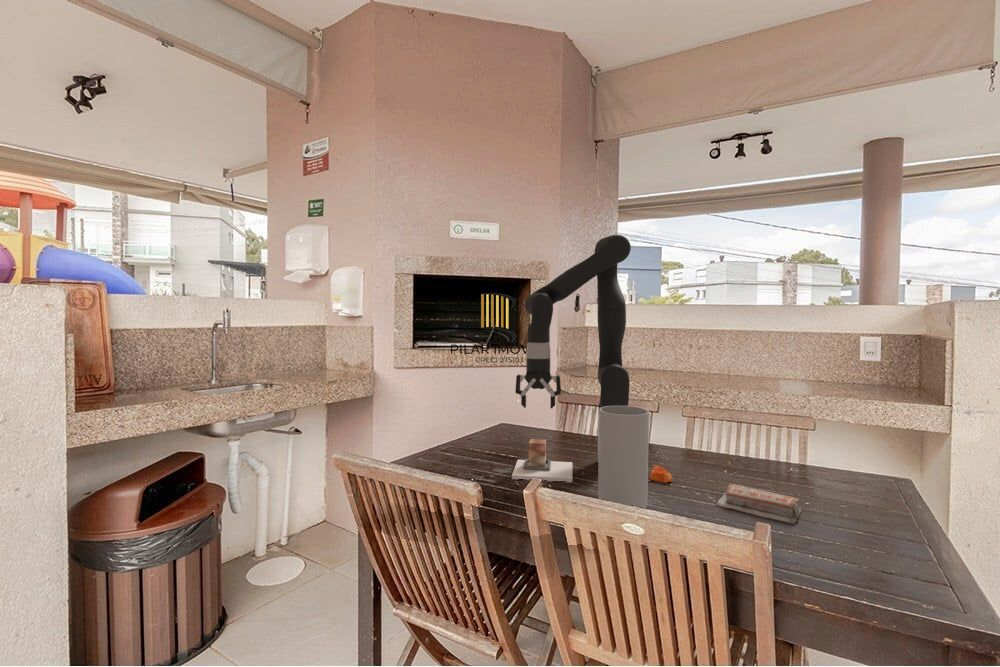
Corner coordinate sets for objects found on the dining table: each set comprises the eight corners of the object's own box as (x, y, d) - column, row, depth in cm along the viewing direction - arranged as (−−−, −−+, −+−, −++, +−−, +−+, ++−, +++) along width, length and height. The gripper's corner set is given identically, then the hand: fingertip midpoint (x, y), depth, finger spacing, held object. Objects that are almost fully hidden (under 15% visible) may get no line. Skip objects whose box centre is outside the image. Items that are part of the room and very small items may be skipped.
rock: (674, 492, 141) (675, 478, 141) (633, 483, 148) (633, 469, 148) (687, 481, 150) (688, 467, 150) (648, 472, 158) (648, 459, 157)
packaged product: (802, 494, 126) (795, 506, 118) (801, 513, 126) (795, 526, 118) (726, 479, 137) (716, 489, 130) (726, 496, 137) (715, 507, 130)
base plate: (572, 465, 162) (572, 459, 162) (572, 482, 146) (572, 475, 146) (517, 463, 165) (517, 456, 165) (511, 479, 149) (511, 471, 149)
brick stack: (545, 464, 160) (546, 439, 160) (544, 469, 155) (545, 443, 155) (530, 463, 161) (530, 438, 160) (528, 468, 156) (529, 443, 155)
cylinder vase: (605, 493, 138) (607, 404, 137) (651, 501, 132) (653, 408, 131) (591, 508, 127) (593, 412, 126) (641, 518, 121) (643, 417, 120)
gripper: (561, 355, 159) (561, 406, 160) (517, 355, 161) (517, 404, 162) (560, 358, 152) (560, 410, 152) (514, 357, 154) (514, 409, 154)
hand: (538, 407), depth 157 cm, fingers open, 8 cm apart
